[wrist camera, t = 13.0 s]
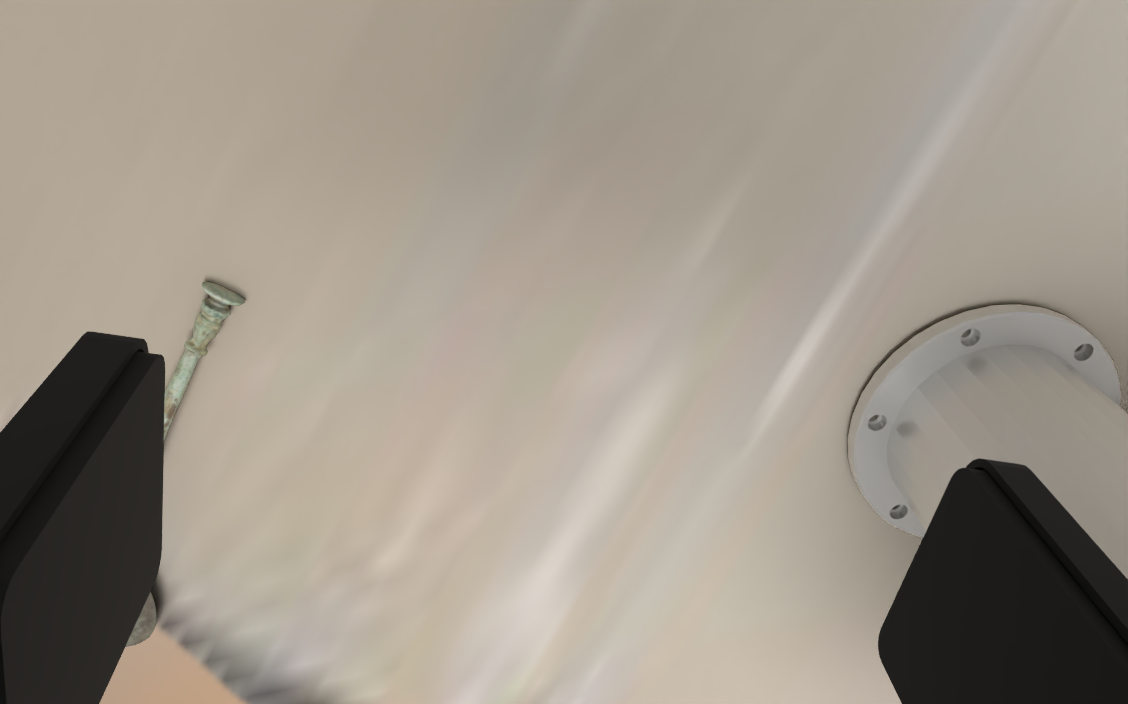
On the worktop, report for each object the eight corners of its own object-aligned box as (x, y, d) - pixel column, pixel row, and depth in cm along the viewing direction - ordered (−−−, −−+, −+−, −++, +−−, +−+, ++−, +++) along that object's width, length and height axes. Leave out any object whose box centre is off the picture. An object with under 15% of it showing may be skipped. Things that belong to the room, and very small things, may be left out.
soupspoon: (9, 605, 47) (142, 642, 50) (-19, 659, 45) (123, 695, 47) (153, 247, 39) (308, 312, 41) (129, 285, 36) (297, 353, 38)
